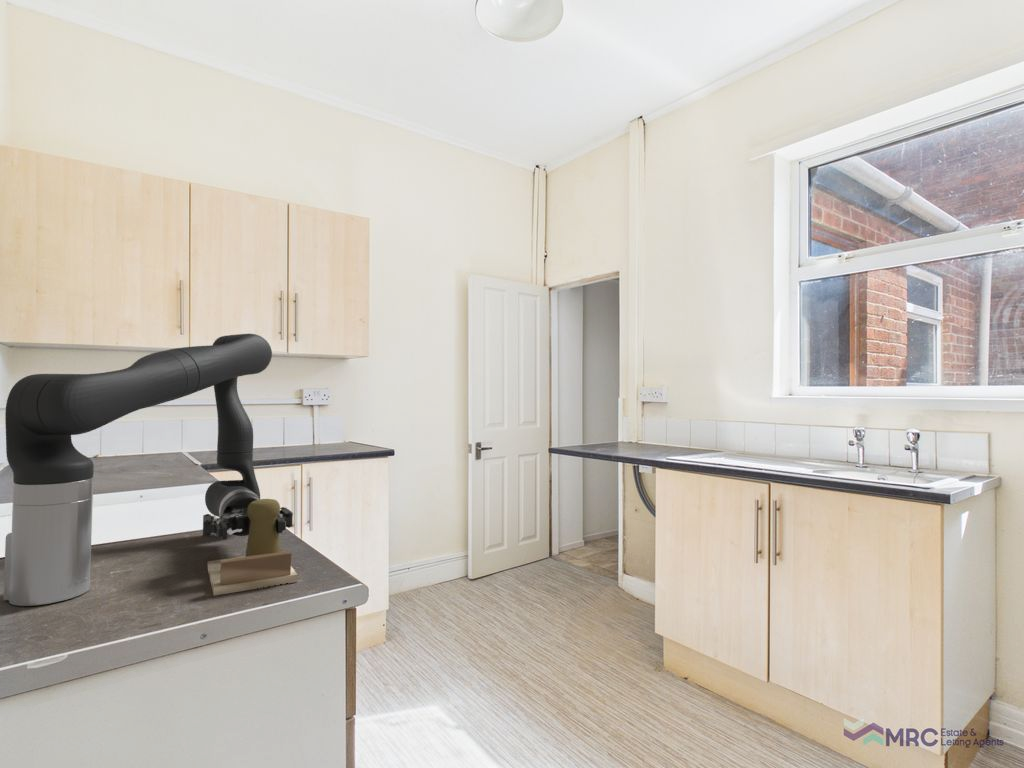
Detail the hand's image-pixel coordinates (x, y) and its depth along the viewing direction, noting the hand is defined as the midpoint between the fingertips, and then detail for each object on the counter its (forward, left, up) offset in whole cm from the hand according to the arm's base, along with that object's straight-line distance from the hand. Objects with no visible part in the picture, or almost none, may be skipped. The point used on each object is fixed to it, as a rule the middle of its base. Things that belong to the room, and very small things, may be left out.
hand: (253, 530), depth 90 cm
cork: (0, +3, -7) cm, 8 cm away
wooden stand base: (-1, +1, -8) cm, 8 cm away
